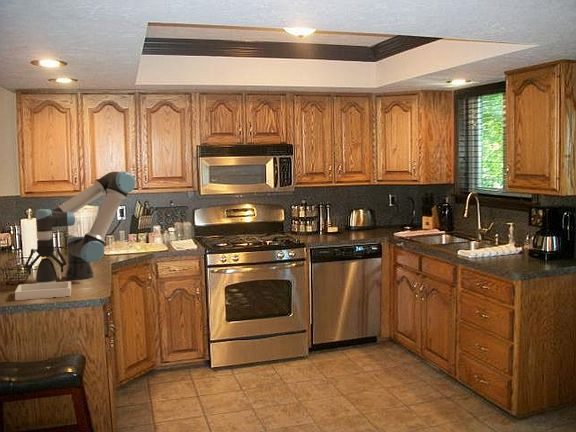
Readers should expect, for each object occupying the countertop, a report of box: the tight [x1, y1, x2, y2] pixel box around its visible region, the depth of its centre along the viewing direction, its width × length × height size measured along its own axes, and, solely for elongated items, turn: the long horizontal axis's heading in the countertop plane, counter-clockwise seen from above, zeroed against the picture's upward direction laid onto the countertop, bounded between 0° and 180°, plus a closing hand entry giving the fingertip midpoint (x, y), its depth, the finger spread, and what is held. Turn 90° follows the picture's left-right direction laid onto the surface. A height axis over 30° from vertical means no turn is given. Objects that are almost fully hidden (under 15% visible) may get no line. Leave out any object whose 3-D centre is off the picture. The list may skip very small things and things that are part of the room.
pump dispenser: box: [35, 257, 58, 284], centre depth 309 cm, size 10×10×15 cm
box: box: [14, 280, 72, 301], centre depth 291 cm, size 24×18×4 cm
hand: (46, 279), depth 310 cm, fingers open, 13 cm apart
